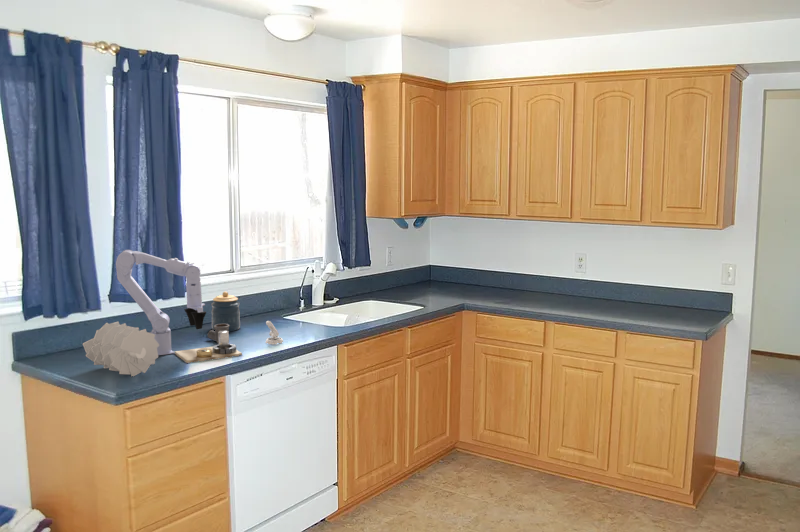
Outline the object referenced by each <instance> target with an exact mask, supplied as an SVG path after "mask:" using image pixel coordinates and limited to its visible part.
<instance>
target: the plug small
mask: <svg viewBox="0 0 800 532" xmlns="http://www.w3.org/2000/svg"><path fill="white" fill-rule="evenodd" d="M196 352H197V357H199V358H207V357H211V356H212V350H211V349H200V350H197V351H196Z"/></svg>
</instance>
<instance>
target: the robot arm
mask: <svg viewBox="0 0 800 532" xmlns="http://www.w3.org/2000/svg"><path fill="white" fill-rule="evenodd" d="M141 264H147V265H150V266H151V265H152V266H155V267H160V268H164V269H165V271H166V272H167V273H170V274H173V275H175V276H176V275H177V276H180V277H185V278H186V279H185V280H186V283H185V288H186V289H185V290H186V291H185V292H186V308H184V312H185V313H186V316H187V318H188V319H187V320H188V322H189V325H190V327H192V326H194V327H195V328H196V330H201V329H203V325H204V319H205V317H206V314H207V311H206V310H205V311H204V308H203V307H204V306H206V303H203V299H202V297H203V295H202V283H201V269H200V267H199V265H198V264H195V263H194V262H193V263H191V262H189V261H187V262H186V261H183V260H179V258H177V257H174V258H171V257H170V258H169V259H164V258H161V257H159V256H155V255H151V254H148V253H146V252H142V251H139V250H132V249H123V250H122V252H121V253H119V254H118V256H117V258H116V261H115V267H116V268H115V269H116V278H117V281H118V282H119V283H120V285H122V287H123V288H124V289H125V290H126V292H127V293H128V294H129V295H130V297H131V298H132V299H133V300H134V301H135V302H136V304H137V305H138V307H139V308H140V309H141V310H142V311H143V312H144V313H145V315H146V317H147V319H148V321H149V322H150V324H151V327H152V329H151V331H150V332H149V333H152V334H155V337H154V339H155V340H156V341H157V342H158V344H159V346H158V347H157V352H158V356H165V355H172V354H175V351H174V350H172V331H171V328H170V327H169V326H170V322H171V321H170V320H171V319H170V316H169V315H168V314H167V313H165V312H163V311H162V310H161V309H160V308H159V307H158V306H157V305H156V304H155V303H154V302H153V300H152V299H151V298H150V297H149V296H148V295H147V293H146V292H145V291H144V290H143V288H142V287H141V286H140V285H139V283H138V282H137V281H136V280H135V278H134V277H133V276H132V272H133V267H134V265H136V266H138V265H141Z"/></svg>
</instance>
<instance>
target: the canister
mask: <svg viewBox="0 0 800 532" xmlns="http://www.w3.org/2000/svg"><path fill="white" fill-rule="evenodd" d="M238 300H239V298H238V297H237V296H235V295H232V294H229V292H227V291H223V292H222V294H220V295H218V296H215V297H214V298H213V299H212V301H213V302H212V303H211V304H210V305H211V307H212V309H211V311H210V313H211V328H212V329H211V330H213V331H214V330H215V329H214V325H217V324H228V325H229V330H228V331H229V332H234V331H238V330H240V328H241V327H240V326H241V320H240V318H241V317H240V315H241V314H240V311H241V310H240V304H241V303H240V301H238Z"/></svg>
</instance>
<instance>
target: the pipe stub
mask: <svg viewBox="0 0 800 532" xmlns="http://www.w3.org/2000/svg"><path fill="white" fill-rule="evenodd" d="M229 332H230V331H219V332H218V337H219V343H218V344H219V348H229V344H230V334H229Z"/></svg>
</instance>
